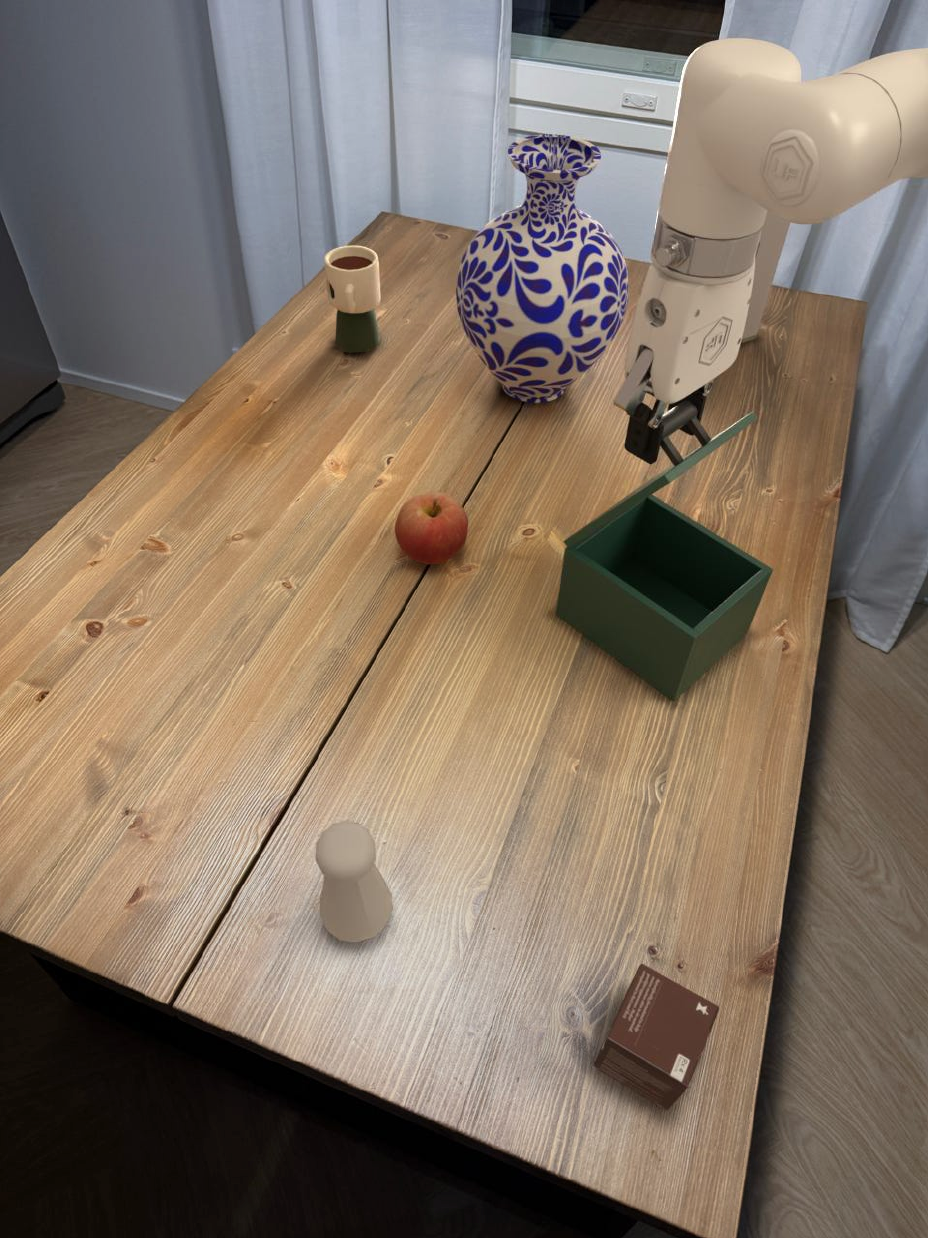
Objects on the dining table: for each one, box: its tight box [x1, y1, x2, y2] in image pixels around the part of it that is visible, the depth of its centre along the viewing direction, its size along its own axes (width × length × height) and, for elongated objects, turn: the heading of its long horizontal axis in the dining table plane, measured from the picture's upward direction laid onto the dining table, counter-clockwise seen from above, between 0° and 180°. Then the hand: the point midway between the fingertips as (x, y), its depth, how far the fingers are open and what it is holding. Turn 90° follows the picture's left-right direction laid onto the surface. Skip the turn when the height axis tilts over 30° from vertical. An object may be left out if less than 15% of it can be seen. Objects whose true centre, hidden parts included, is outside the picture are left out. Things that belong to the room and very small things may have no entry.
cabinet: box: [741, 211, 791, 344], centre depth 120 cm, size 21×10×28 cm, turn 162°
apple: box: [394, 491, 469, 565], centre depth 97 cm, size 8×8×8 cm
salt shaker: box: [315, 820, 393, 944], centre depth 67 cm, size 6×6×13 cm
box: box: [593, 963, 720, 1111], centre depth 63 cm, size 6×6×7 cm
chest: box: [555, 494, 774, 702], centre depth 90 cm, size 16×13×10 cm
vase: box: [455, 133, 629, 404], centre depth 110 cm, size 22×22×30 cm
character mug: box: [323, 245, 381, 353], centre depth 122 cm, size 11×7×13 cm, turn 179°
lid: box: [563, 400, 758, 548], centre depth 82 cm, size 17×13×5 cm
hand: (661, 439), depth 79 cm, fingers closed on lid, 5 cm apart
